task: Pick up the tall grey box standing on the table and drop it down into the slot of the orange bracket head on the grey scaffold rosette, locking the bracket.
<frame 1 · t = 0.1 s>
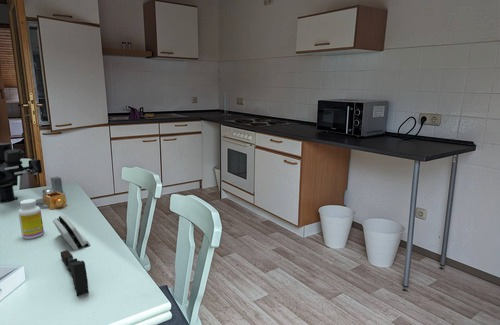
hand: (25, 173, 144), 17 cm above the table, tool horizontal, fingers open, 9 cm apart
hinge: (71, 242, 121), on the table
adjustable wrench: (73, 276, 100), on the table
supplement bottle: (33, 236, 125), on the table
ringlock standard: (49, 203, 157), on the table
tall grey box: (58, 193, 170), on the table
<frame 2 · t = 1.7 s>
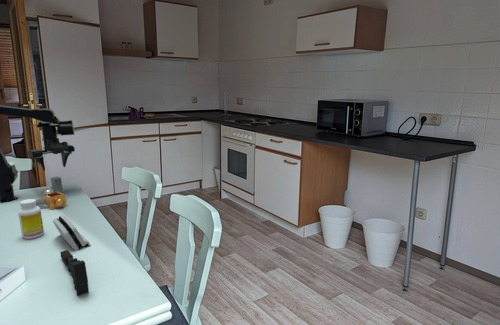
hand: (54, 168, 167), 12 cm above the table, tool pointing down, fingers open, 9 cm apart
nothing on the table moved.
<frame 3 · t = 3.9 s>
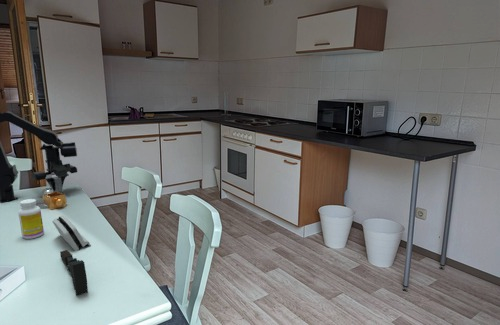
hand: (57, 189, 170), 2 cm above the table, tool pointing down, fingers closed on tall grey box, 3 cm apart
tall grey box: (58, 193, 170), on the table, touching gripper
everything else where it was.
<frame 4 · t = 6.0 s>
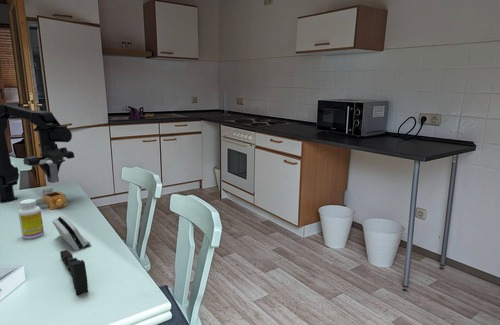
hand: (52, 177, 154), 12 cm above the table, tool pointing down, fingers closed on tall grey box, 3 cm apart
tall grey box: (53, 181, 154), point 10 cm above the table, touching gripper
everything else where it was.
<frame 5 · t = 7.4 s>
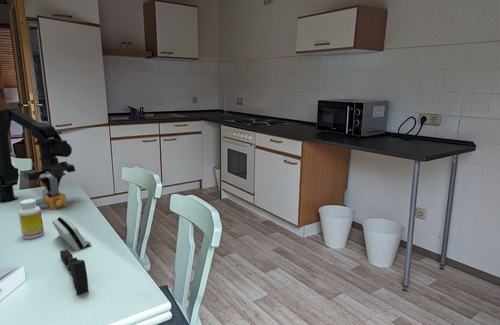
hand: (52, 190, 153), 7 cm above the table, tool pointing down, fingers closed on tall grey box, 3 cm apart
tall grey box: (53, 195, 153), point 5 cm above the table, touching gripper
everything else where it was.
when the fingers open (6 cm above the table, at t = 8.3 s): tall grey box drops 3 cm, resting on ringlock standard.
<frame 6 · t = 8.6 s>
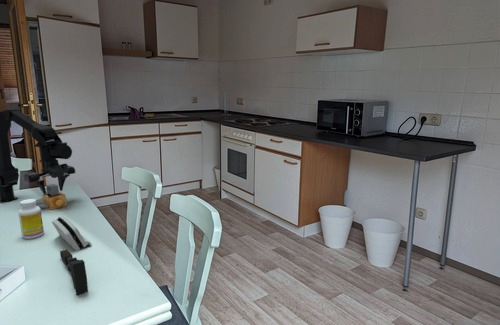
hand: (53, 192, 153), 6 cm above the table, tool pointing down, fingers open, 6 cm apart
tall grey box: (54, 203, 154), point 1 cm above the table, touching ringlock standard
everything else where it was.
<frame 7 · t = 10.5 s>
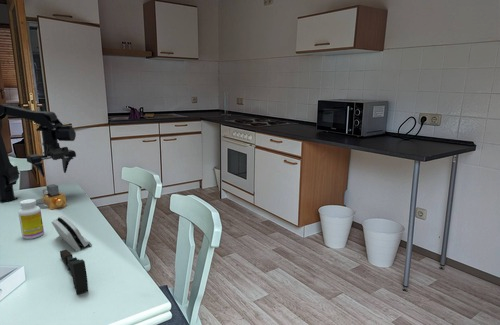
hand: (54, 174, 160), 12 cm above the table, tool pointing down, fingers open, 9 cm apart
nothing on the table moved.
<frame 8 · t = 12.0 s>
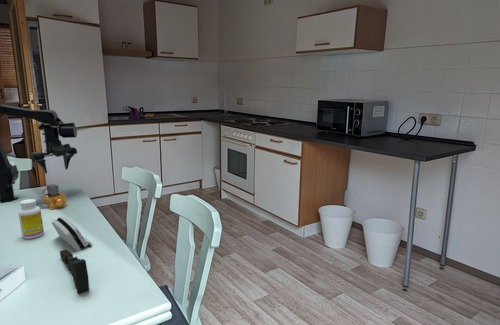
hand: (56, 171, 165), 12 cm above the table, tool pointing down, fingers open, 9 cm apart
at the end: tall grey box 0.0 cm from the target spot on the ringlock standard, point 1.2 cm above the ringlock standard's base; tall grey box tilted 0°; the gripper is holding nothing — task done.
